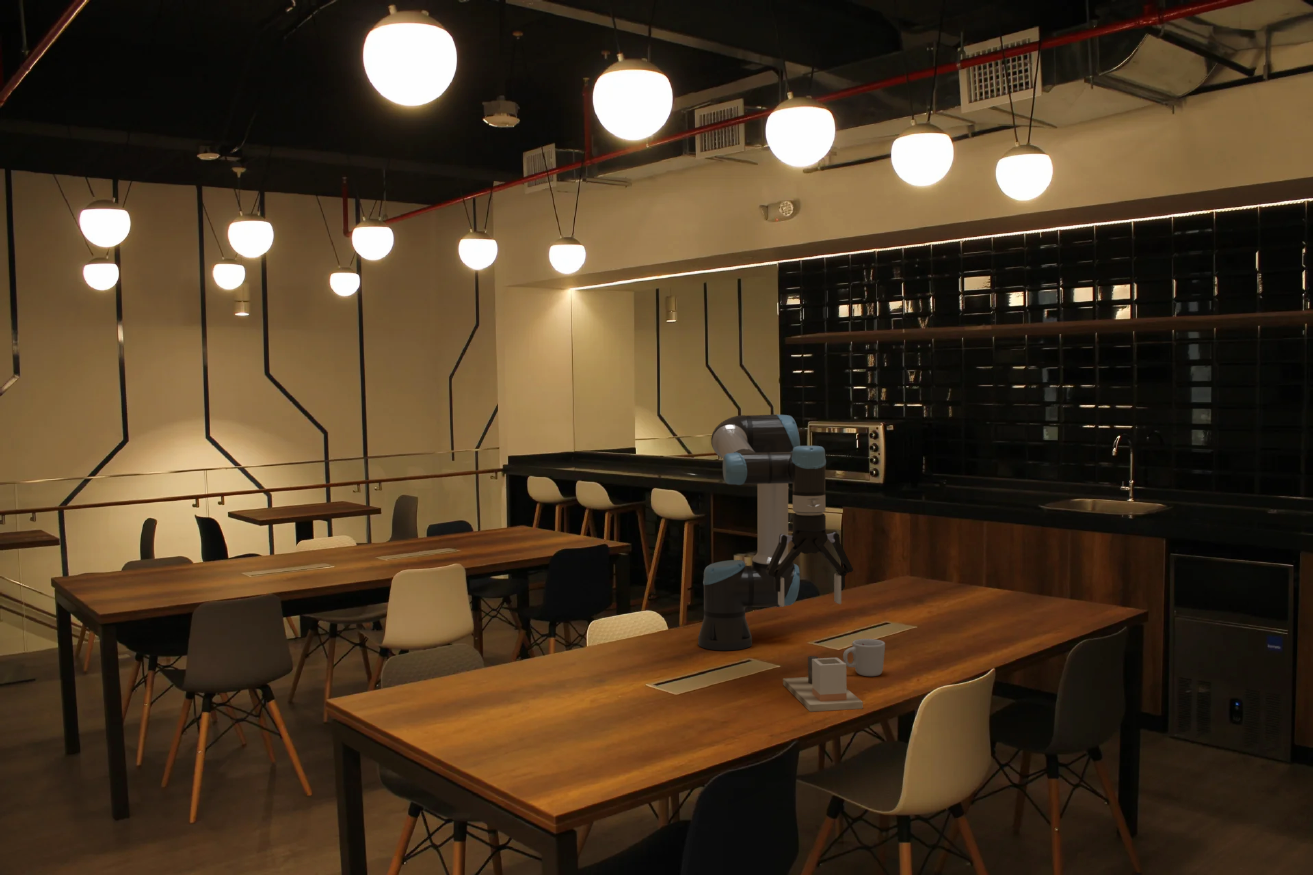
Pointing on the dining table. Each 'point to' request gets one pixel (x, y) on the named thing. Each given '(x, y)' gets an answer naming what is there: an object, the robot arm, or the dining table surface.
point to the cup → (866, 656)
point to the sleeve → (829, 679)
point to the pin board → (804, 694)
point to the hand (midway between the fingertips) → (809, 604)
